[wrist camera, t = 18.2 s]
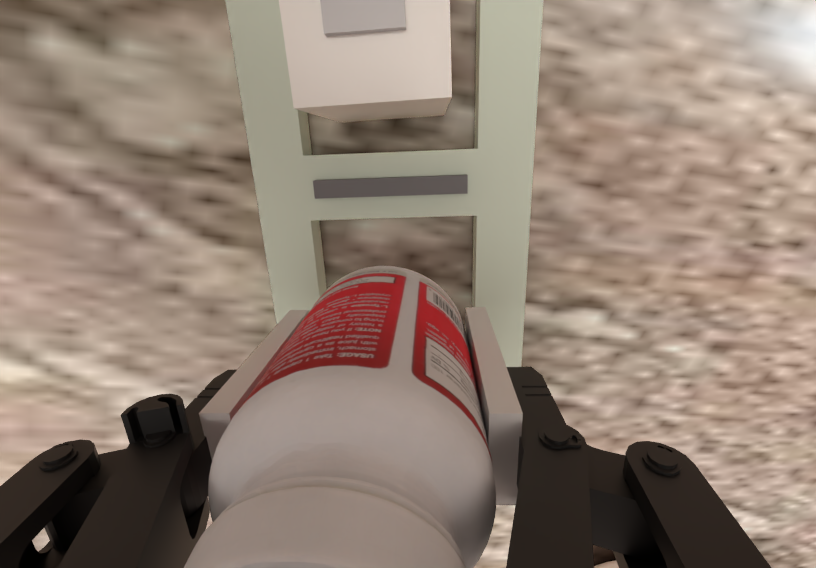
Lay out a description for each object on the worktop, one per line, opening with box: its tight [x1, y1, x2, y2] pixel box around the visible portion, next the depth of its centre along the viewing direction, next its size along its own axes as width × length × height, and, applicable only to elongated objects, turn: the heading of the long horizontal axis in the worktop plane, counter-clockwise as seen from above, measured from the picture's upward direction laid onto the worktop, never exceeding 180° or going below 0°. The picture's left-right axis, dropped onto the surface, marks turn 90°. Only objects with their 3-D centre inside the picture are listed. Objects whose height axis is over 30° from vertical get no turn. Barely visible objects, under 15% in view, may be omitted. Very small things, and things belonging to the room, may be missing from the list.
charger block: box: [279, 0, 452, 123], centre depth 15 cm, size 5×5×7 cm
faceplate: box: [225, 0, 543, 367], centre depth 19 cm, size 24×13×2 cm, turn 2°
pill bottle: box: [184, 266, 496, 568], centre depth 11 cm, size 6×6×11 cm
